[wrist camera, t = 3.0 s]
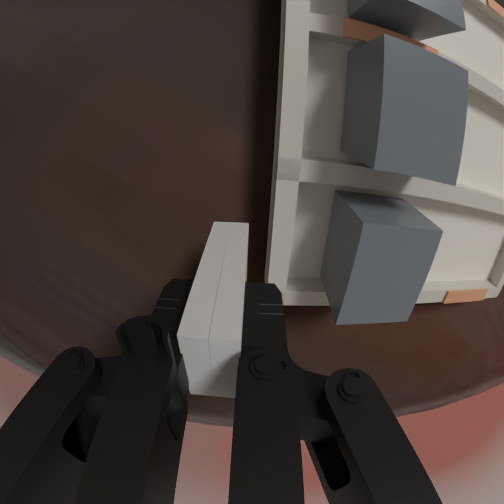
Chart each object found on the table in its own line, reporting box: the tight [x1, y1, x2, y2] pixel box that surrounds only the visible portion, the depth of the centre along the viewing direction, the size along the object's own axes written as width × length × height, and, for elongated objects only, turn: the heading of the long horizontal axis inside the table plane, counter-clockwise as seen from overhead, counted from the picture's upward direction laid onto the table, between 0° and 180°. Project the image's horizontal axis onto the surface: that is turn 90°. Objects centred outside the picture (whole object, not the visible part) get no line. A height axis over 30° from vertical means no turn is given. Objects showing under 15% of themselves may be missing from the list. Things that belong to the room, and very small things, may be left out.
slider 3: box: [320, 190, 443, 325], centre depth 12 cm, size 4×5×4 cm
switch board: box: [265, 0, 504, 306], centre depth 11 cm, size 20×22×3 cm
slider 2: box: [340, 34, 468, 186], centre depth 9 cm, size 4×5×4 cm
